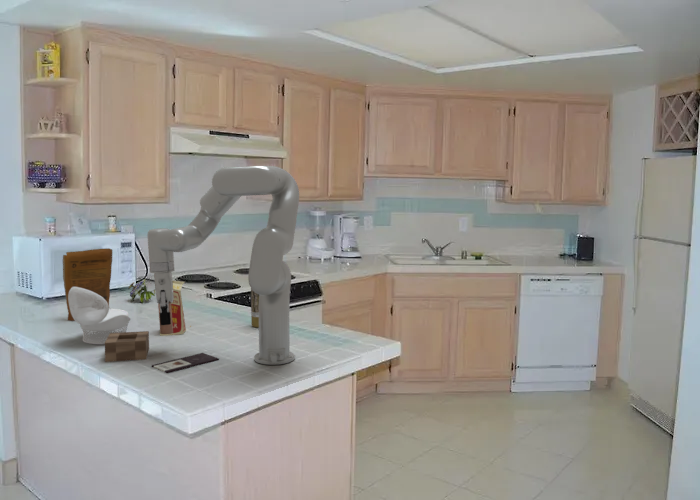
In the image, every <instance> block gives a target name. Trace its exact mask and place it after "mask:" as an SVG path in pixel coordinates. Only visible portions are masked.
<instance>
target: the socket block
mask: <svg viewBox="0 0 700 500" xmlns="http://www.w3.org/2000/svg"><path fill="white" fill-rule="evenodd" d="M149 333H150V332H149V330H146V331H145V330H143V331H128V332H127V331H125V332H123V333H119V332H118V333H115V332H114V333H110V334H109V336H108V338H107V339H105V340H106V341H105V344H104V361H105V363H109V362H110V363H111V362H125V361H139V360H141V361H142V360H147V358H148V355H149V351H150V336H149Z"/></svg>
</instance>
